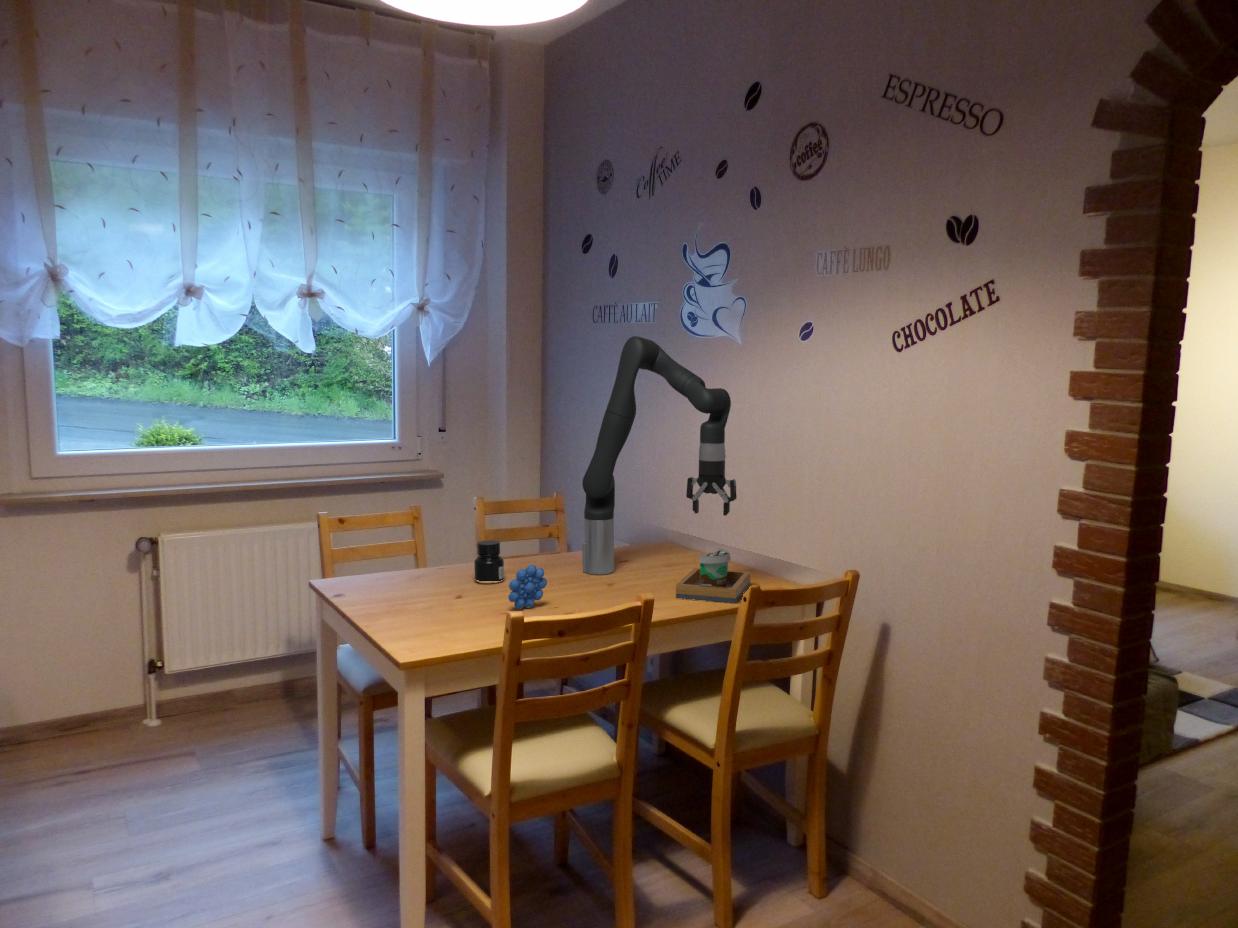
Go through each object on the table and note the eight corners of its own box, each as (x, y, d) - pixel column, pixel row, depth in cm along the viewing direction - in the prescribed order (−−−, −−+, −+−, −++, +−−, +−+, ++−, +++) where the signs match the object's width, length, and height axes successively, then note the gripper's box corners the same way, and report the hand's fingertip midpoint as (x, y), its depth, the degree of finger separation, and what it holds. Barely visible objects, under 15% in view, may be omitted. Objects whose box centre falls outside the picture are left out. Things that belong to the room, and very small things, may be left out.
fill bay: (675, 598, 256) (675, 584, 256) (694, 580, 276) (694, 567, 276) (735, 603, 251) (735, 589, 250) (750, 584, 271) (750, 571, 270)
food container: (718, 593, 256) (718, 558, 255) (698, 590, 259) (698, 555, 258) (737, 583, 266) (737, 550, 265) (718, 580, 270) (718, 547, 268)
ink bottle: (508, 582, 276) (507, 543, 274) (480, 586, 272) (479, 546, 270) (498, 575, 284) (497, 538, 283) (470, 579, 280) (469, 540, 279)
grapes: (539, 601, 255) (538, 559, 253) (551, 606, 249) (550, 563, 248) (501, 608, 249) (500, 564, 247) (513, 613, 243) (512, 569, 242)
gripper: (684, 458, 260) (683, 514, 262) (733, 461, 255) (732, 518, 257) (691, 455, 267) (690, 510, 269) (739, 458, 262) (738, 513, 264)
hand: (710, 514), depth 263 cm, fingers open, 8 cm apart
